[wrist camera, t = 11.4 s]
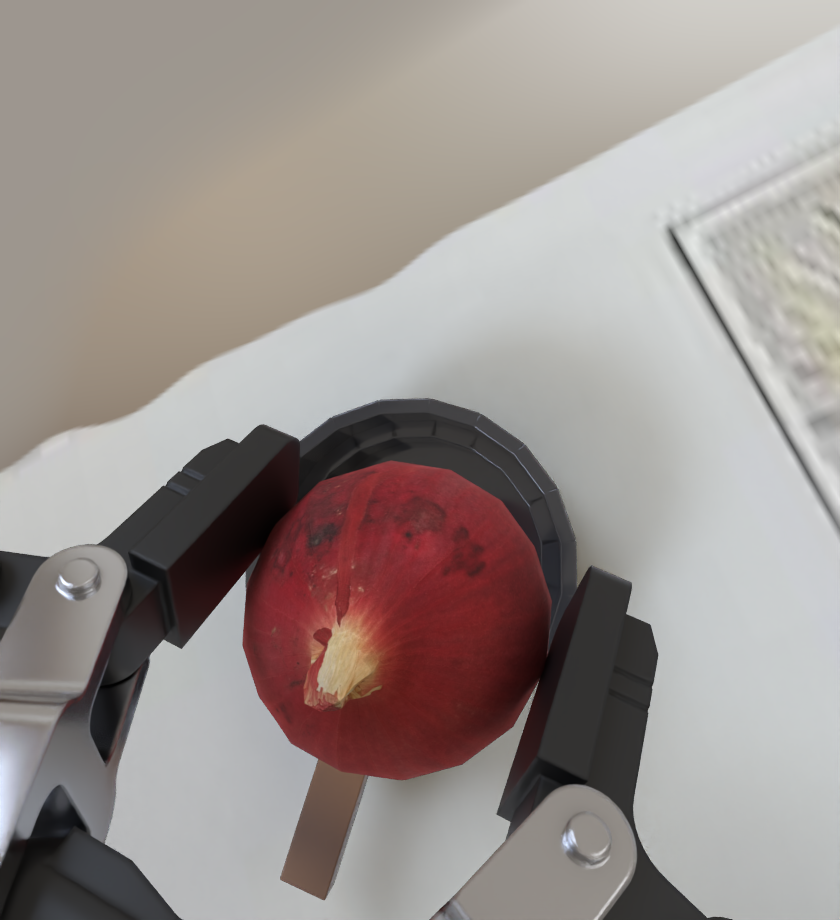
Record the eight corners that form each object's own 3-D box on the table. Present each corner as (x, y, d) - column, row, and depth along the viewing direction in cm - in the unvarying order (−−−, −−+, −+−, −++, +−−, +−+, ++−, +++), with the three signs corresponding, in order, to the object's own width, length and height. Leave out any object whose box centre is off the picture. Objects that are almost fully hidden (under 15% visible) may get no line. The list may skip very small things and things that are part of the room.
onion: (293, 513, 17) (88, 508, 9) (503, 445, 16) (476, 377, 8) (354, 735, 16) (187, 938, 8) (578, 675, 15) (624, 838, 8)
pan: (608, 464, 29) (622, 454, 24) (518, 748, 29) (514, 795, 24) (338, 383, 31) (304, 360, 27) (253, 643, 31) (203, 667, 26)
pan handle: (344, 700, 27) (331, 713, 26) (388, 718, 27) (377, 732, 25) (293, 860, 27) (275, 884, 25) (336, 880, 27) (322, 906, 25)
